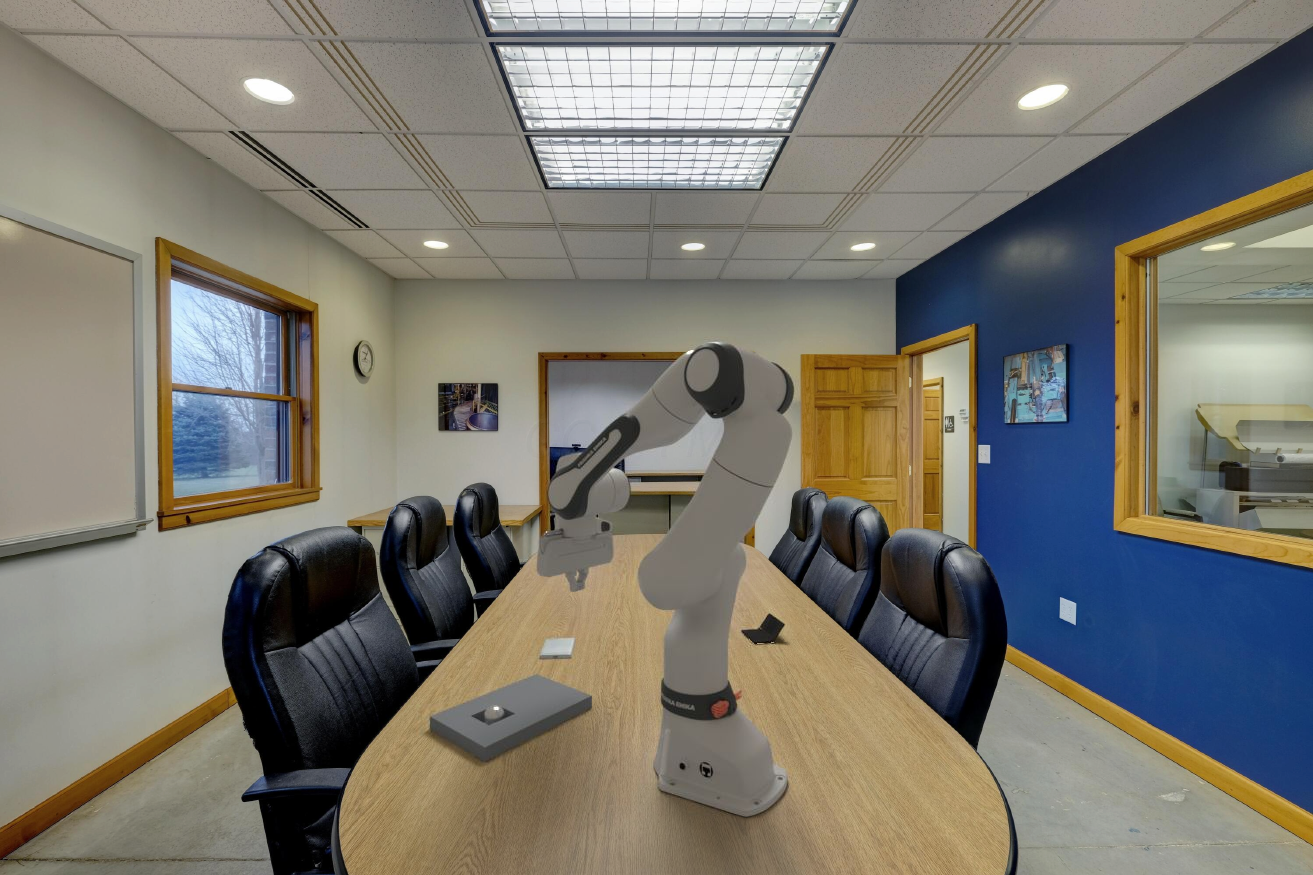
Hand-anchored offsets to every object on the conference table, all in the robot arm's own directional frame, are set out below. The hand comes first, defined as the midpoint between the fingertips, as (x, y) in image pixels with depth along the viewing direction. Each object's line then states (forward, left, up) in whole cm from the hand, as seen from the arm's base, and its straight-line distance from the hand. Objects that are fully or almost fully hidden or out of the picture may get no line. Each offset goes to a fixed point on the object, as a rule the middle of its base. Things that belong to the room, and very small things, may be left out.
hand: (577, 590), depth 121 cm
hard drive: (+26, -17, -24) cm, 39 cm away
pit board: (+3, +14, -23) cm, 27 cm away
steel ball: (+4, +19, -21) cm, 29 cm away
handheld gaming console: (-13, -61, -24) cm, 67 cm away
